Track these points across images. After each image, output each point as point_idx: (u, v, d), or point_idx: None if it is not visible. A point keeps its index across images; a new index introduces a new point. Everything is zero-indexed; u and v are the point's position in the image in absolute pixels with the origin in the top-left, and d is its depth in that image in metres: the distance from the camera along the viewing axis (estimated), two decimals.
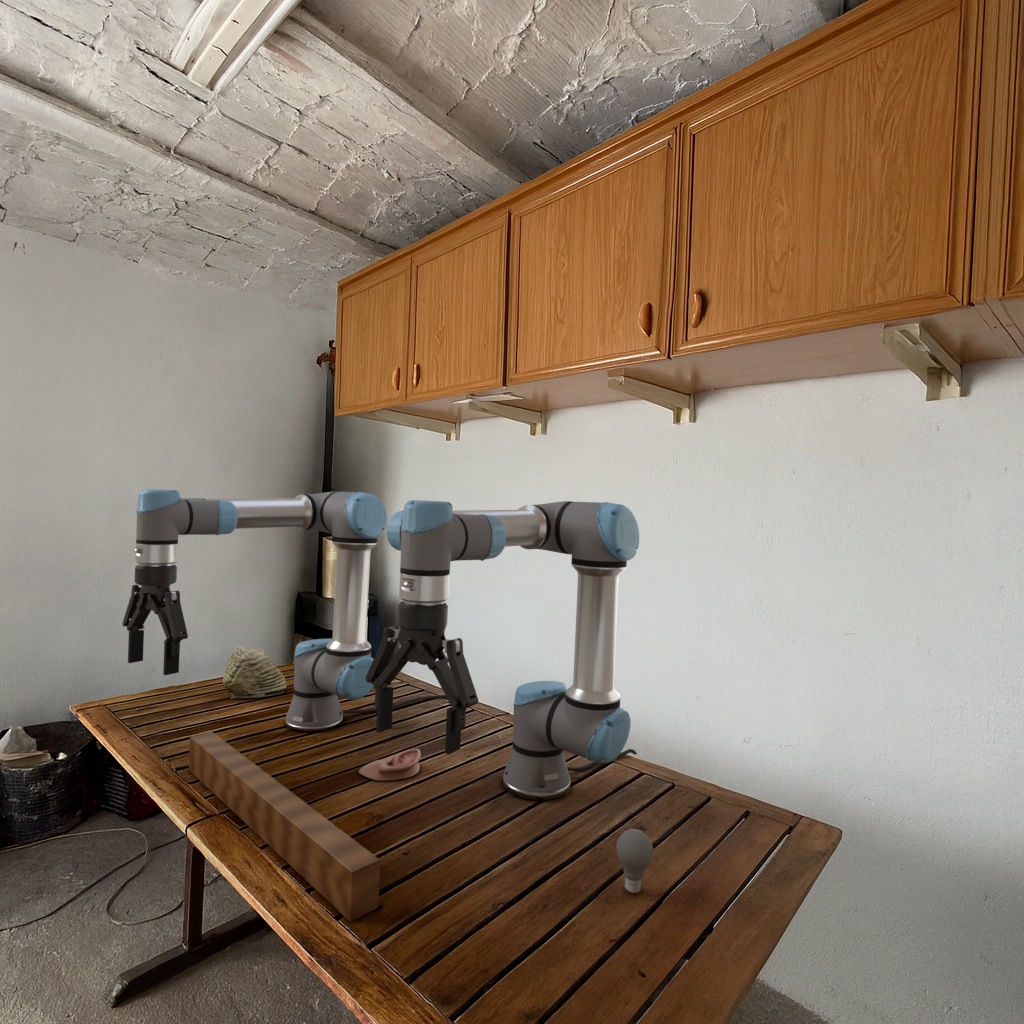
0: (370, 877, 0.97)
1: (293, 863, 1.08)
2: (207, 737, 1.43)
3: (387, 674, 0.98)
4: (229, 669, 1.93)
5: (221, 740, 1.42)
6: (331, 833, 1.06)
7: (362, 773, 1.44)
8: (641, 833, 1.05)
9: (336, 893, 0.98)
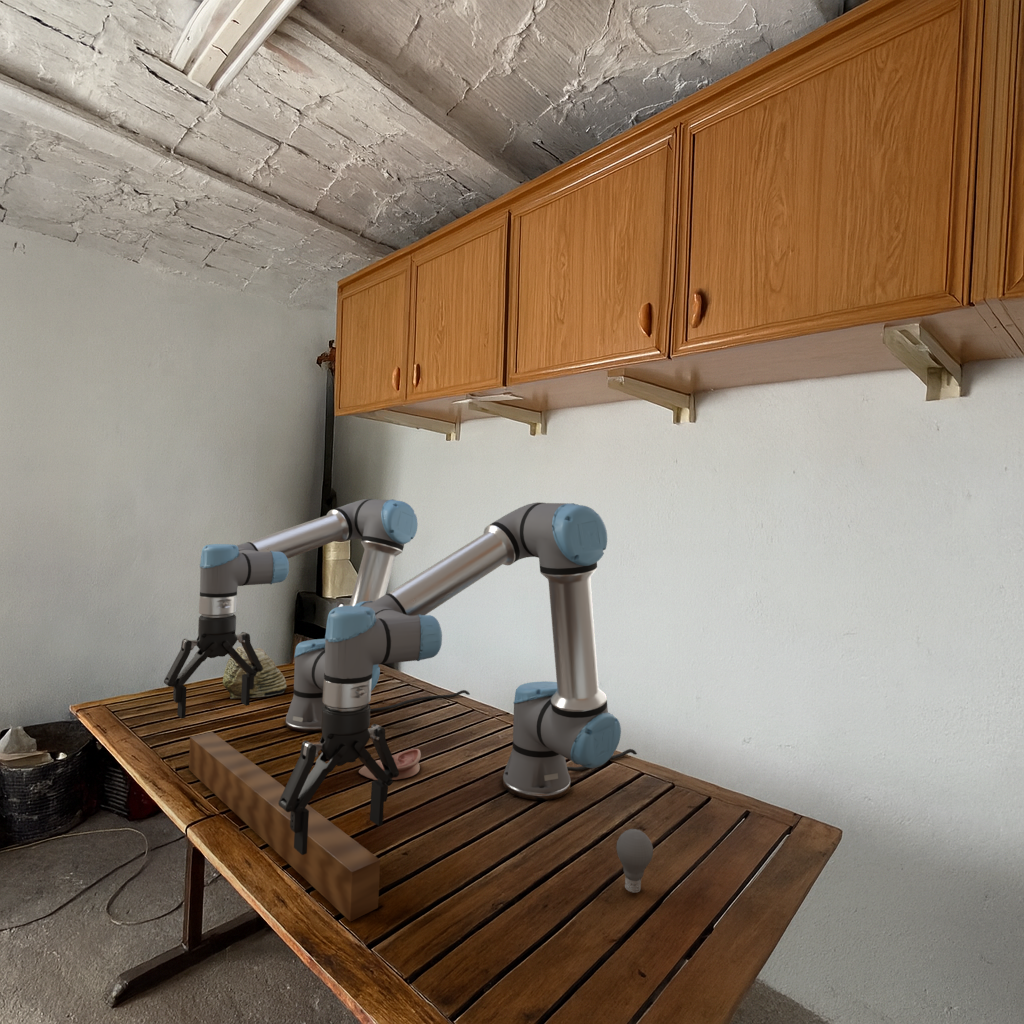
0: (370, 877, 0.97)
1: (293, 863, 1.08)
2: (207, 737, 1.43)
3: (314, 790, 0.97)
4: (229, 669, 1.93)
5: (221, 740, 1.42)
6: (331, 833, 1.06)
7: (362, 773, 1.44)
8: (641, 833, 1.05)
9: (336, 893, 0.98)
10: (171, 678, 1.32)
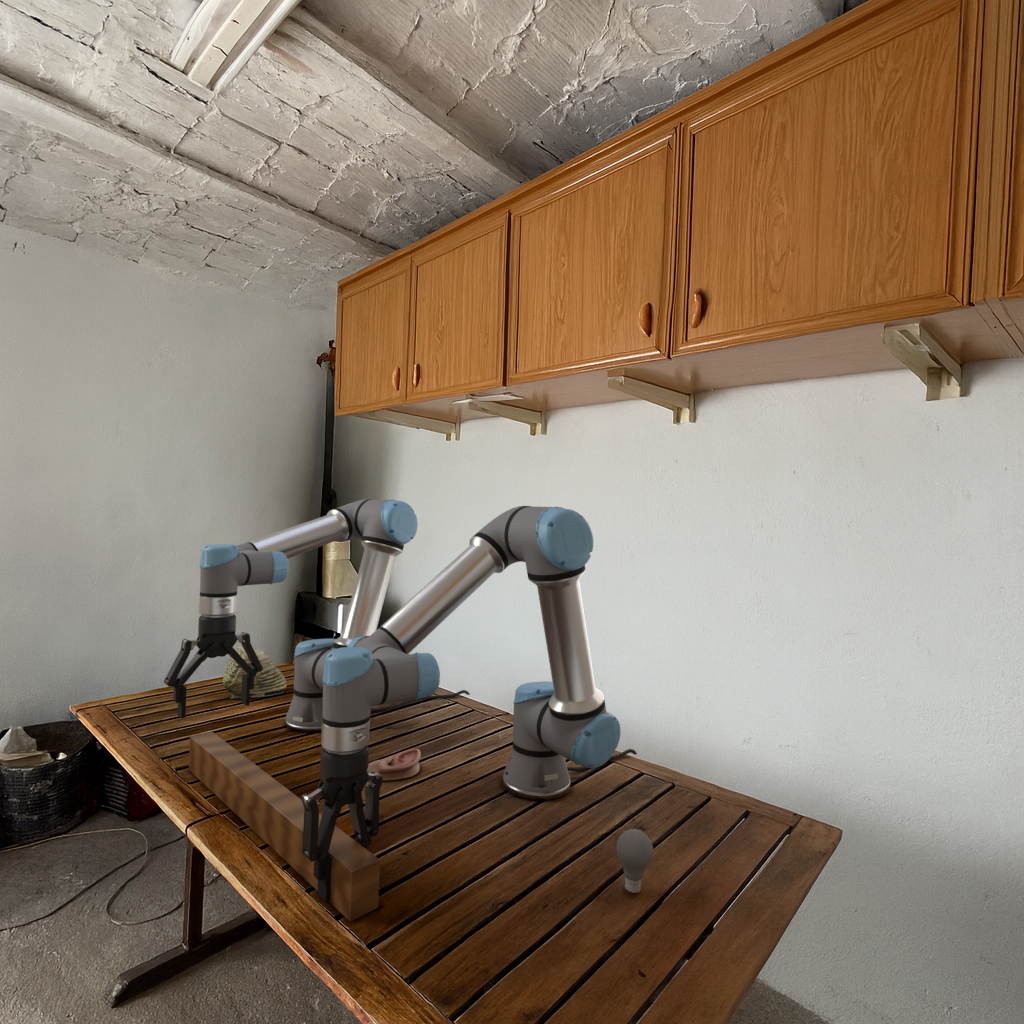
0: (370, 877, 0.97)
1: (293, 863, 1.08)
2: (207, 737, 1.43)
3: (330, 836, 0.99)
4: (229, 669, 1.93)
5: (221, 740, 1.42)
6: None
7: None
8: (641, 833, 1.05)
9: (336, 893, 0.98)
10: (171, 678, 1.32)
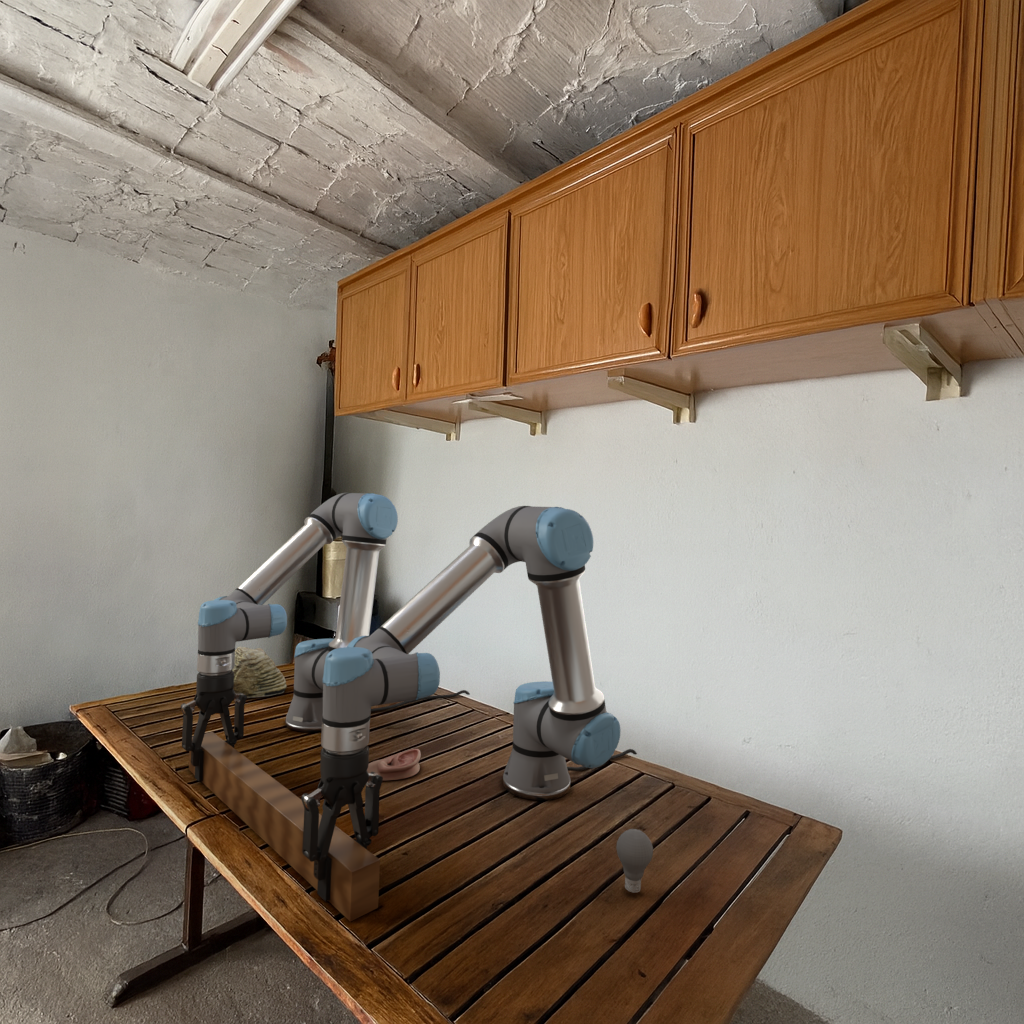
0: (370, 877, 0.97)
1: (293, 863, 1.08)
2: (207, 737, 1.43)
3: (330, 836, 0.99)
4: None
5: (221, 740, 1.42)
6: None
7: None
8: (641, 833, 1.05)
9: (336, 893, 0.98)
10: (187, 744, 1.35)
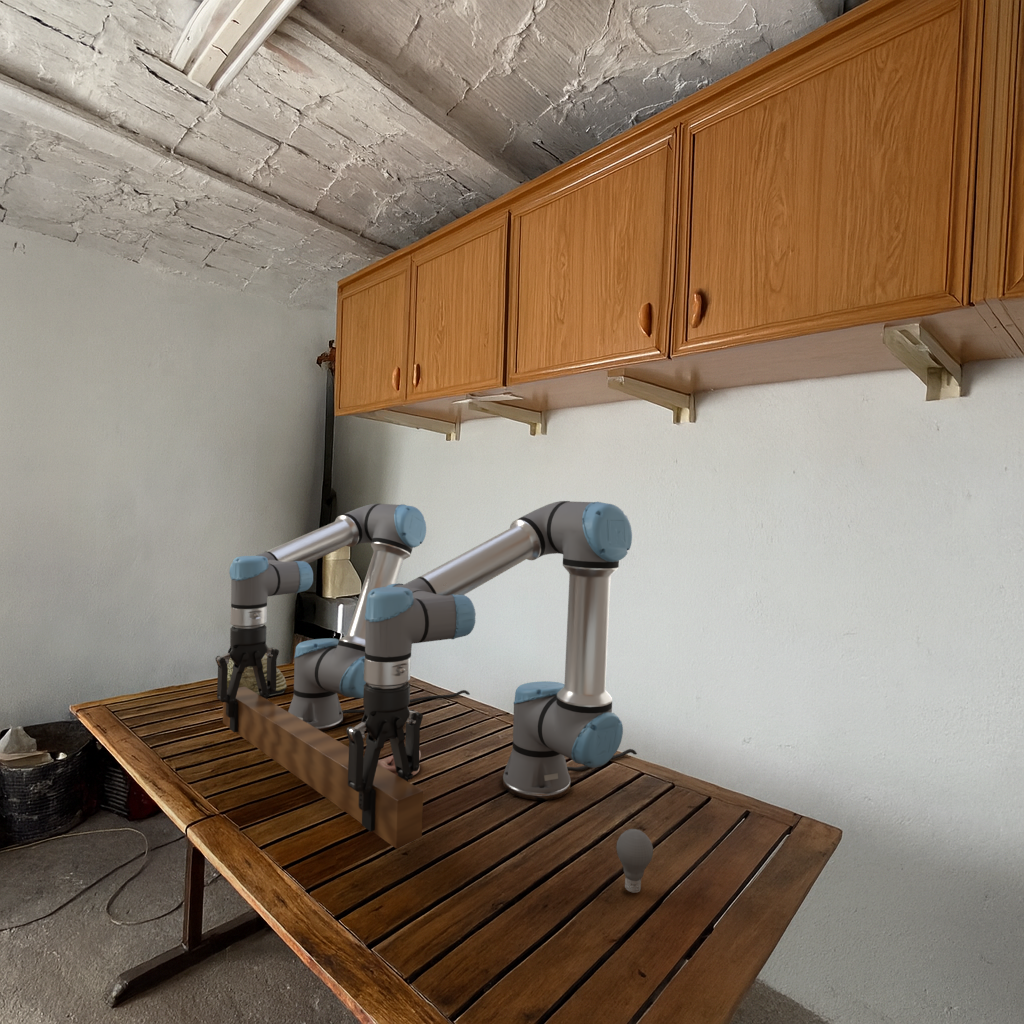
0: (414, 807, 1.00)
1: (335, 800, 1.11)
2: (241, 691, 1.46)
3: (374, 768, 1.02)
4: (229, 669, 1.93)
5: (254, 693, 1.45)
6: None
7: None
8: (641, 833, 1.05)
9: (381, 823, 1.01)
10: (222, 695, 1.38)
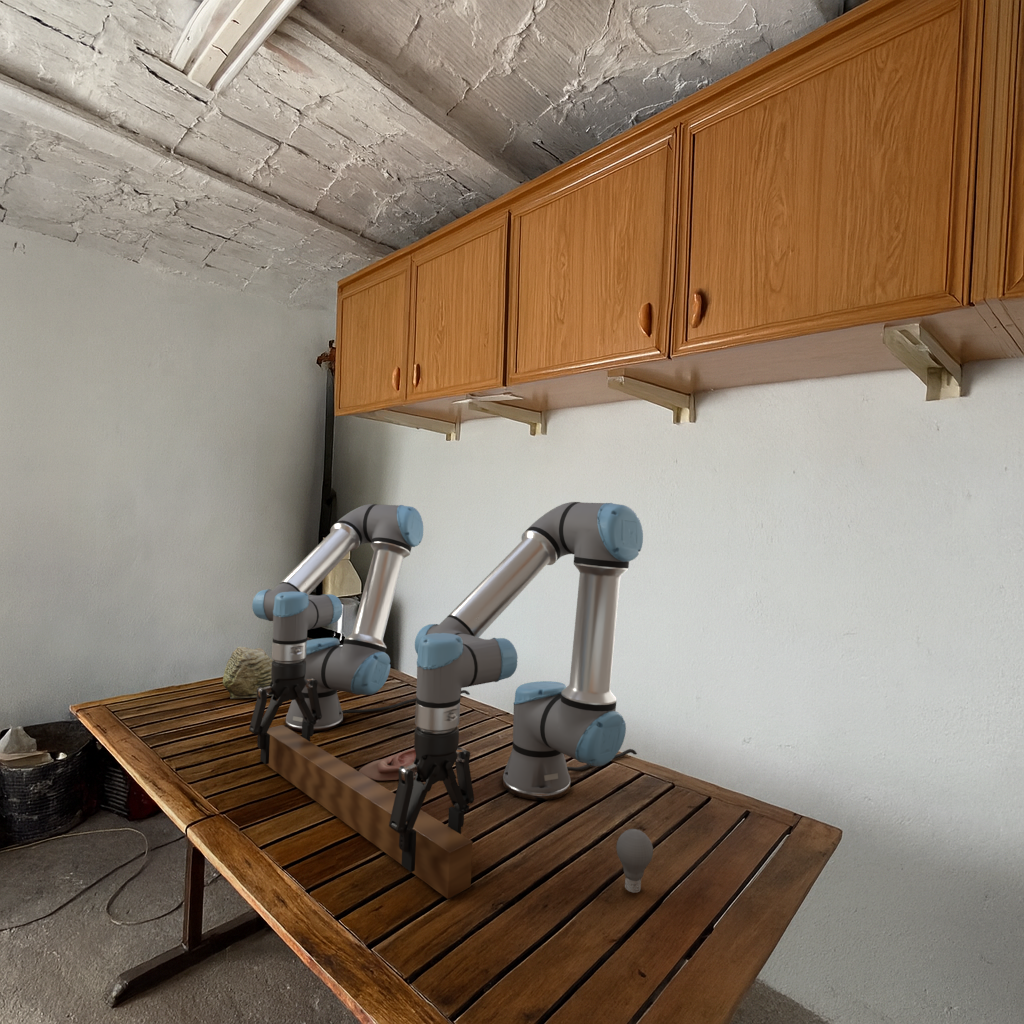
0: (465, 857, 1.04)
1: (382, 847, 1.14)
2: (279, 730, 1.50)
3: (418, 810, 1.04)
4: (229, 669, 1.93)
5: (293, 732, 1.49)
6: (421, 817, 1.12)
7: (362, 773, 1.44)
8: (641, 833, 1.05)
9: (432, 873, 1.04)
10: (255, 727, 1.40)
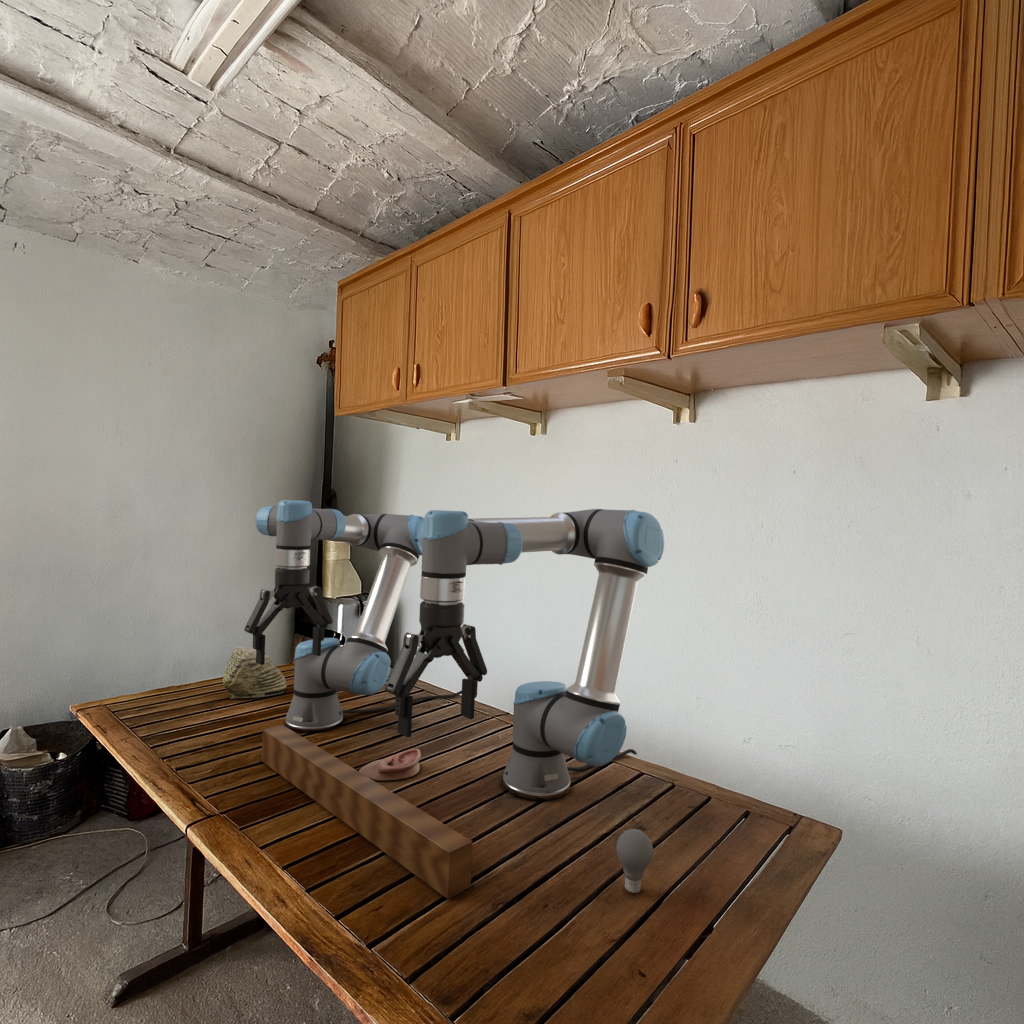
0: (465, 857, 1.04)
1: (382, 847, 1.14)
2: (279, 730, 1.50)
3: (417, 678, 1.03)
4: (229, 669, 1.93)
5: (293, 732, 1.49)
6: (421, 817, 1.12)
7: (362, 773, 1.44)
8: (641, 833, 1.05)
9: (432, 873, 1.04)
10: (252, 625, 1.38)
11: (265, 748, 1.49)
